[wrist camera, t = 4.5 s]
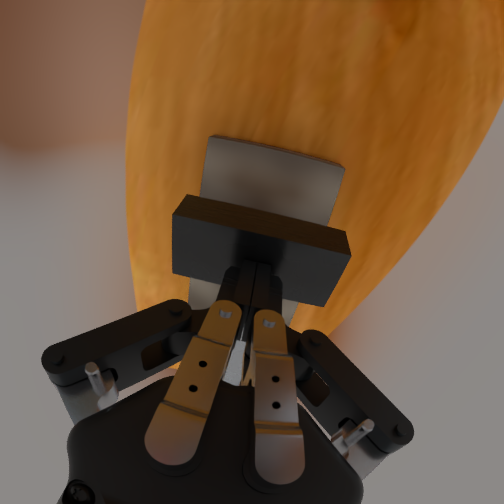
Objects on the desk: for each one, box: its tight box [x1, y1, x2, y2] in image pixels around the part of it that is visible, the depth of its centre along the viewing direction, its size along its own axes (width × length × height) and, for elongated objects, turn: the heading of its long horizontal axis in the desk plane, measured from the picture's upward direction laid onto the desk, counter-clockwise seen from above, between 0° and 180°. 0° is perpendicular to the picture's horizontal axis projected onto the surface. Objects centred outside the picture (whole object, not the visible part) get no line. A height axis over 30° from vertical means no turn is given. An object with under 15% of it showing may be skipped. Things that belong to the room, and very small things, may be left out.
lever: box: [172, 194, 351, 386], centre depth 21 cm, size 21×9×4 cm, turn 168°
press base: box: [188, 135, 345, 386], centre depth 25 cm, size 24×12×11 cm, turn 168°
